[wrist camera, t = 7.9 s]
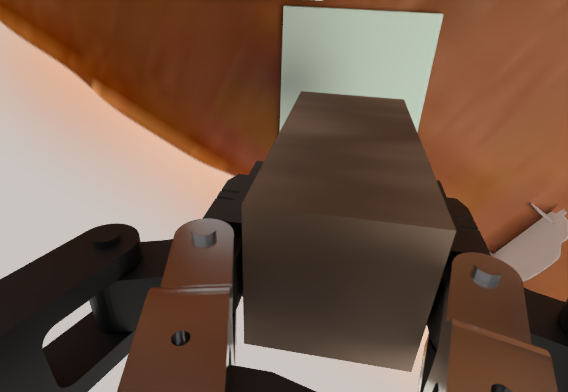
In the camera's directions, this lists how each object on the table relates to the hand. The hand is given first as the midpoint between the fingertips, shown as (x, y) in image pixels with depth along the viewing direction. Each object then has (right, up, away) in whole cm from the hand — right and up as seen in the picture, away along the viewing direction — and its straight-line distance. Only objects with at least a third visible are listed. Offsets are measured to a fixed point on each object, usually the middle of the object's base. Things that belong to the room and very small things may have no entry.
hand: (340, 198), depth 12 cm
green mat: (+3, +7, +13) cm, 15 cm away
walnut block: (+1, +2, +4) cm, 5 cm away
